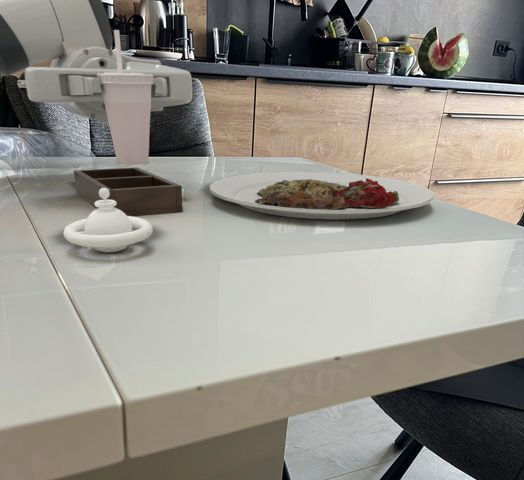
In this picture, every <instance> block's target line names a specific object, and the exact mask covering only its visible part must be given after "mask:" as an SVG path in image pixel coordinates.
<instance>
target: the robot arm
mask: <svg viewBox="0 0 524 480" xmlns="http://www.w3.org/2000/svg"><path fill="white" fill-rule="evenodd" d="M106 11H107V10H106V9H105V6H104V3H103V0H0V75H2V76H5V77H7V76H10V75H12V74H15V73H17V72H20V71H22V70H23V71H24V79H18V80H17V81H16V85H17V87H18V88H20V89H22V88H24V89H26V94H27V98H28V99H29V101H30V102H35V103H58V104H59V105H60V107H62V108H63V109H64V110H65V111H67V112H69V113H70V114H73V115H76V116H79V117H82V118H87V119H90V120H93V121H98V122H108V118H107V113H106V108H105V104H104V99H103V94H102V89H101V81H100V78H98V77H97V74H104V72H117V73H118V69H117V58H116V50H113V34H112V29H111V24H110V20H109V18H108V13H107V12H106ZM121 58H122V69H123V73H143V74H146V75H153V81H154V84H152V86H151V109H150V113H155V112H162V111H163V110H164V108H165V107H174V106H180V105H181V106H182V105H187V104H190V103H191V102H192V100H193V79H192V73H191V72H190V71H189V70H186V69H182V68H178V67H173V66H169V65H163V64H162V62H161V61H160V60H159V59H153V58H142V57H138V56H137V57H136V56H130V55H127V54H124V53H121ZM49 61H51V63H50V66H35V65H38V64H42V63H45V62H49Z"/></svg>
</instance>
